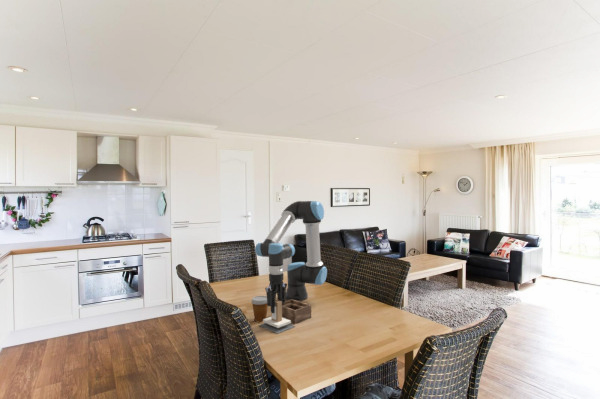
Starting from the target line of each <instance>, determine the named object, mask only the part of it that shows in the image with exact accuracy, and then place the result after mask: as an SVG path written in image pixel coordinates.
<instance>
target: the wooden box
mask: <svg viewBox="0 0 600 399" xmlns="http://www.w3.org/2000/svg"><path fill="white" fill-rule="evenodd" d="M282 317H283V318H285V319H288V320H291V323H290V324H294V325H296V324H299V323H301V322H303V321H306V320H309V319H311V318H312V305H311V304H309V303H305V302H304V301H296V300H293V299H291V300H285V302H284V305H282Z"/></svg>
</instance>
